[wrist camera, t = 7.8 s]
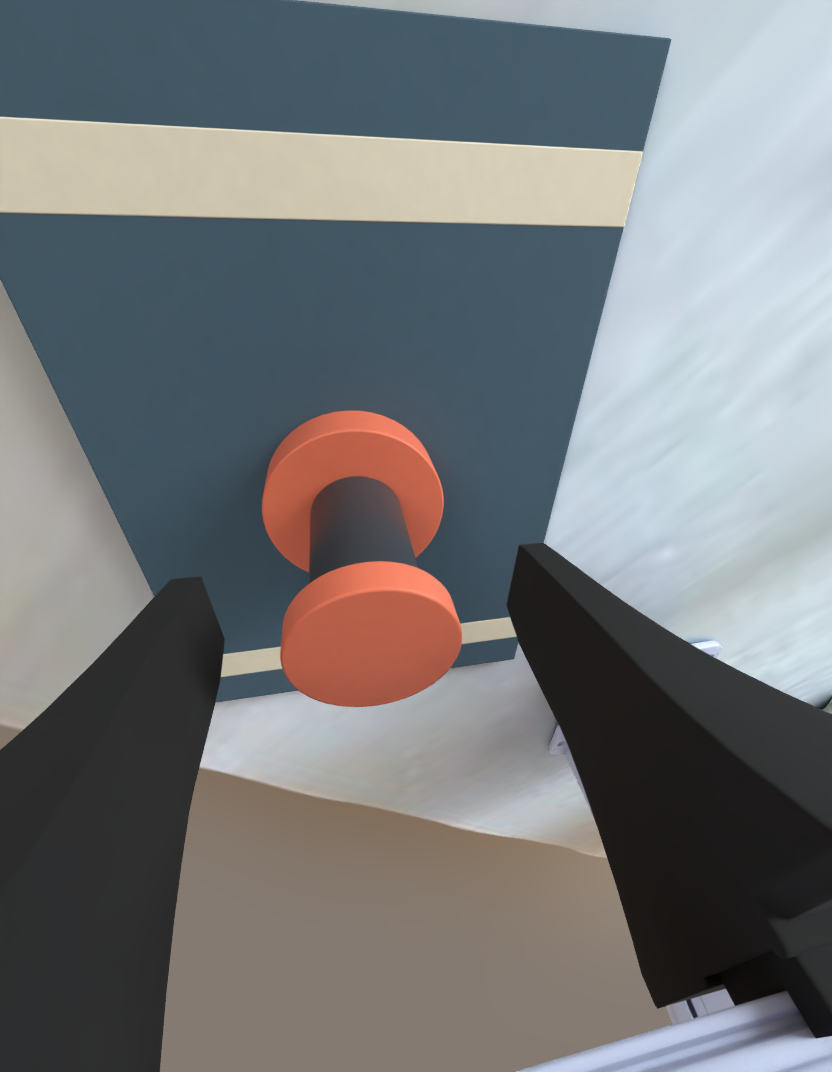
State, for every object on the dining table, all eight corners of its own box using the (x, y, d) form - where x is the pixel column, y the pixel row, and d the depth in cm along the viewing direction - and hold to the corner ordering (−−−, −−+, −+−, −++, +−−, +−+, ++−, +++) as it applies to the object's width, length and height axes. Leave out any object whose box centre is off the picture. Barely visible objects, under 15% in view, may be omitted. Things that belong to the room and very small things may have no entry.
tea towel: (512, 654, 21) (514, 659, 21) (207, 698, 19) (206, 704, 18) (662, 42, 9) (672, 37, 9) (-143, -38, 7) (-161, -48, 6)
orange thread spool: (430, 546, 15) (485, 708, 10) (281, 561, 15) (263, 744, 10) (438, 405, 12) (521, 538, 7) (249, 413, 12) (197, 571, 6)
